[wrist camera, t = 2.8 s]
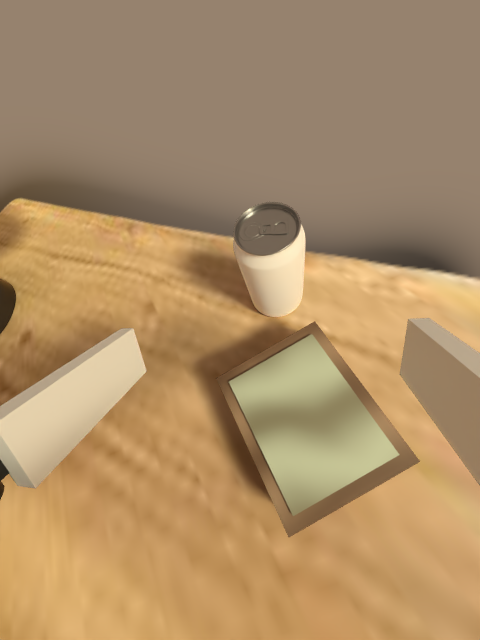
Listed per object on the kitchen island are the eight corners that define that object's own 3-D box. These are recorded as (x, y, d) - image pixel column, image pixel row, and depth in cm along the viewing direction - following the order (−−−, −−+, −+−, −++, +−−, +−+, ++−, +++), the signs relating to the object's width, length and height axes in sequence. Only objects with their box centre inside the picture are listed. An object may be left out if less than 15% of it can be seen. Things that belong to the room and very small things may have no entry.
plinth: (229, 384, 27) (215, 377, 22) (311, 337, 27) (314, 320, 22) (290, 512, 22) (288, 539, 17) (394, 452, 22) (422, 462, 17)
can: (252, 276, 32) (230, 203, 21) (301, 272, 31) (304, 192, 20) (251, 319, 30) (225, 263, 19) (304, 317, 28) (309, 255, 18)
